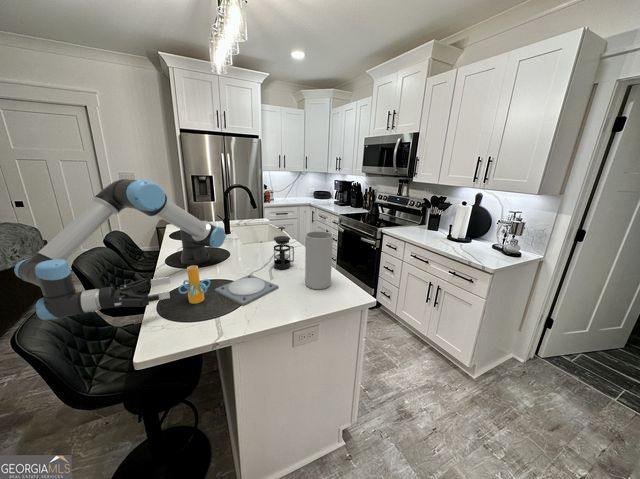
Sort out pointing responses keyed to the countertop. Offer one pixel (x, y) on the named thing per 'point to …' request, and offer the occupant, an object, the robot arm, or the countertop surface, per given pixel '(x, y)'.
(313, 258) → the cylinder vase
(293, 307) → the countertop surface
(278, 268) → the french press
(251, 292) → the grey plate with disc
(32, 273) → the robot arm
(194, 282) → the orange ringed tube
